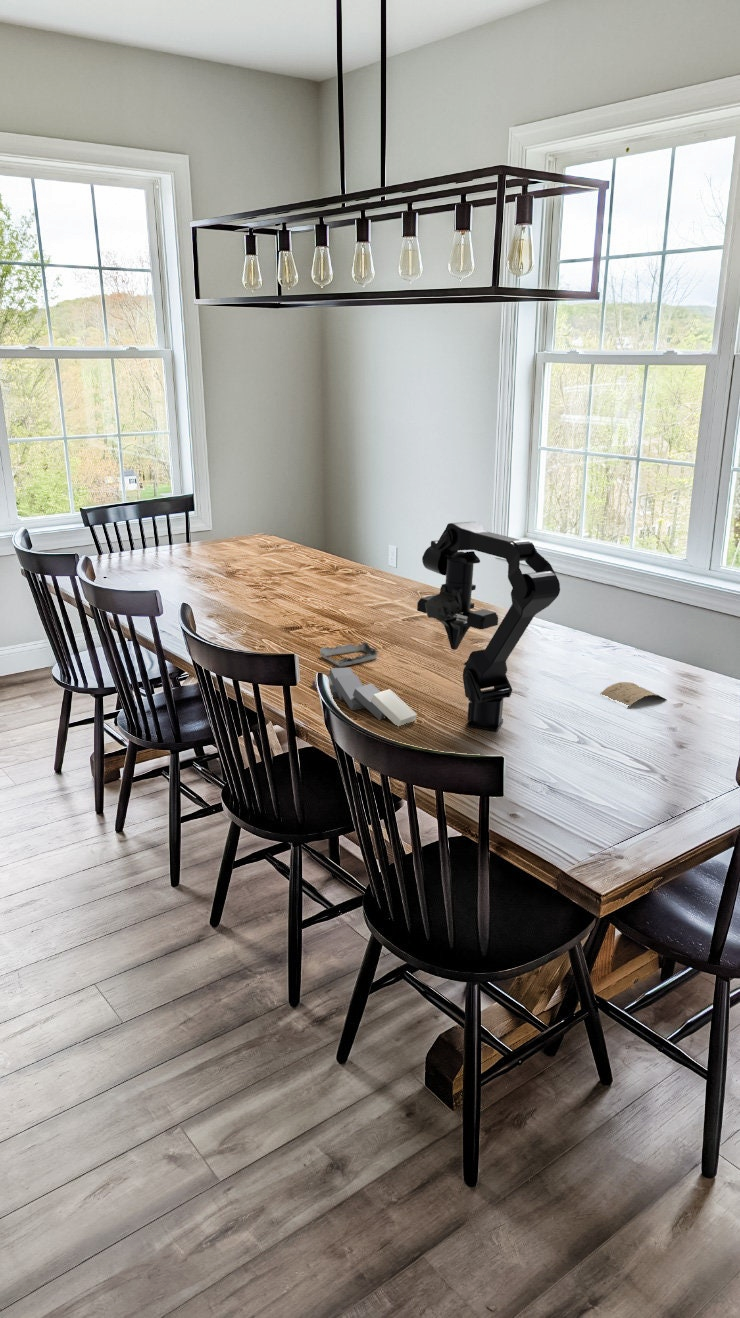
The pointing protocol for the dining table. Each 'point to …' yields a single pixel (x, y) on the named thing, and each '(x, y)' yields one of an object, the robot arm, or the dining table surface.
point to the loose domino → (393, 707)
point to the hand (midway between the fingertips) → (454, 649)
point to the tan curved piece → (626, 692)
